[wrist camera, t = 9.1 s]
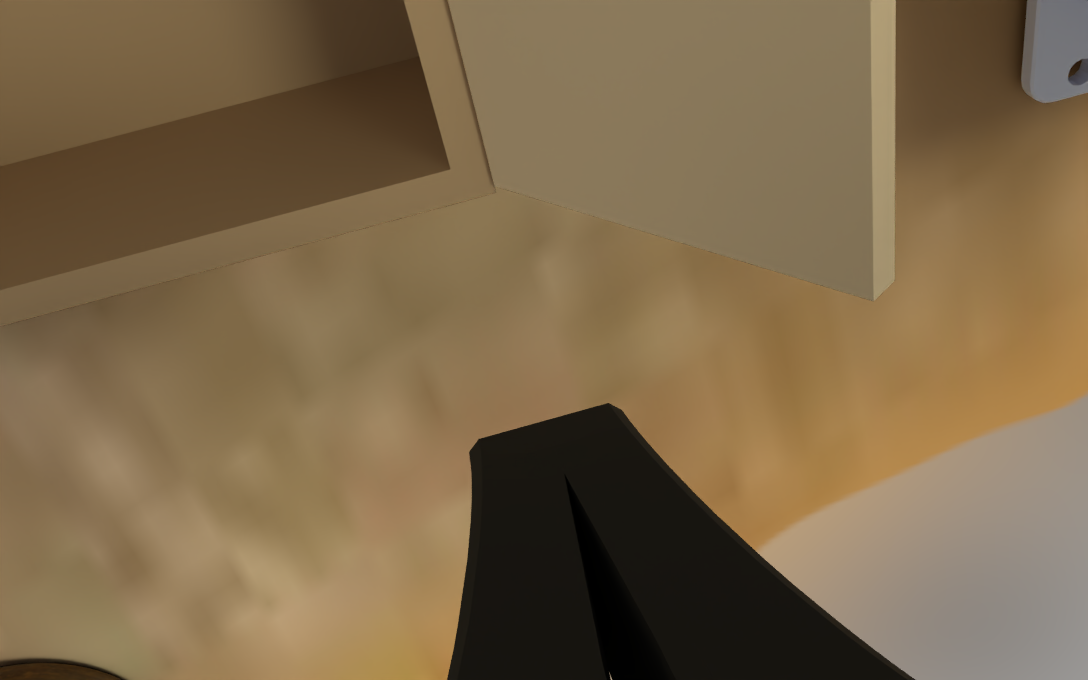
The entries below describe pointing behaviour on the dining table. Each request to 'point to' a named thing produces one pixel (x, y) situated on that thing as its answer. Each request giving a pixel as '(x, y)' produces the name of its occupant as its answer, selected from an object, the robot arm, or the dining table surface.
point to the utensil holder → (51, 672)
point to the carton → (217, 135)
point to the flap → (701, 122)
